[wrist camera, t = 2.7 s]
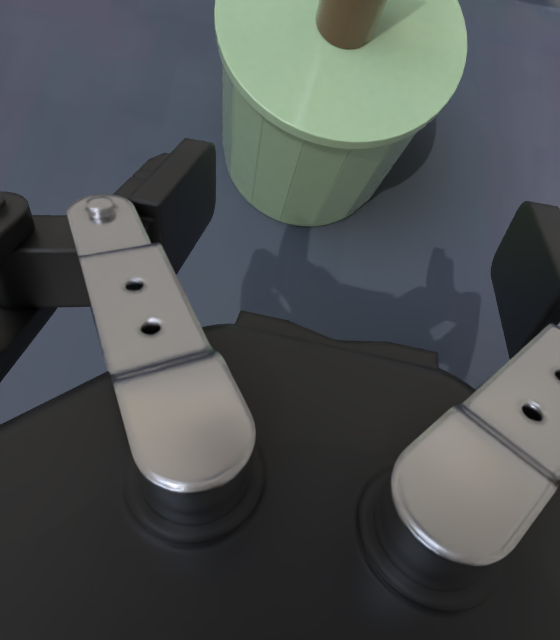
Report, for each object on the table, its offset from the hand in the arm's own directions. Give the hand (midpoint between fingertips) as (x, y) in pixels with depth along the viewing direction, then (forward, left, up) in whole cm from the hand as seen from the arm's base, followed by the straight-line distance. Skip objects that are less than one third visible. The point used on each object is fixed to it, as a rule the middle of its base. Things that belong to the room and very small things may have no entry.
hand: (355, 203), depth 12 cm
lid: (0, -11, -6) cm, 12 cm away
